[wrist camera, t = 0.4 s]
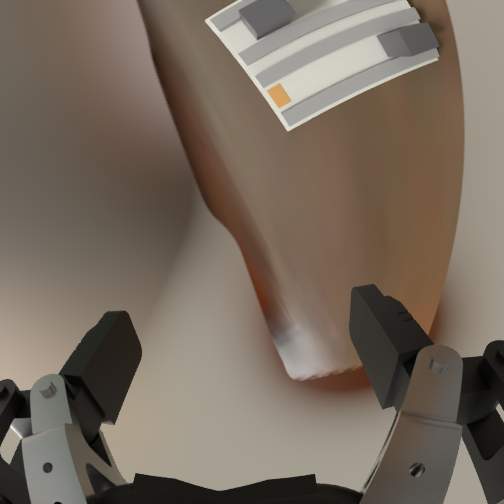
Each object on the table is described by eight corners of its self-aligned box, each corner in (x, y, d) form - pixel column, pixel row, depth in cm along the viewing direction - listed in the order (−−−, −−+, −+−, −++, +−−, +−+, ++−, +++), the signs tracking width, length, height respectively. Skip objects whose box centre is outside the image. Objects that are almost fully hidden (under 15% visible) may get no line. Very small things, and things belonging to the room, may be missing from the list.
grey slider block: (376, 35, 21) (398, 30, 16) (402, 26, 20) (427, 21, 15) (388, 57, 22) (412, 56, 18) (413, 47, 21) (439, 46, 16)
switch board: (207, 23, 23) (201, 18, 20) (365, -44, 15) (374, -53, 13) (286, 128, 31) (289, 134, 28) (429, 59, 23) (444, 60, 20)
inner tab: (242, 21, 21) (237, 10, 17) (274, 4, 20) (277, -10, 15) (257, 40, 23) (256, 33, 18) (289, 23, 21) (296, 12, 17)
